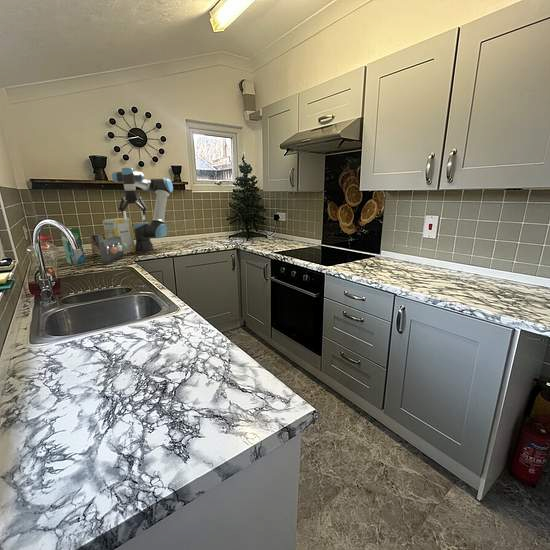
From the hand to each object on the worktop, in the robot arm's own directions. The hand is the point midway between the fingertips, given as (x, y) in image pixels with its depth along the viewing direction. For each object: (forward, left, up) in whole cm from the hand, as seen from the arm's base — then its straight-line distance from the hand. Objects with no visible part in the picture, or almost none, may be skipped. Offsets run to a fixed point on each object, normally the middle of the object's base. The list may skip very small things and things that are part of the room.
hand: (134, 219), depth 222 cm
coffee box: (+17, -37, -29) cm, 50 cm away
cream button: (+13, -2, -22) cm, 26 cm away
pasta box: (+3, -27, -29) cm, 40 cm away
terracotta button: (+19, +3, -22) cm, 29 cm away
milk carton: (+38, -19, -29) cm, 52 cm away
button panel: (+19, -8, -29) cm, 35 cm away
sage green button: (+8, -8, -22) cm, 25 cm away
